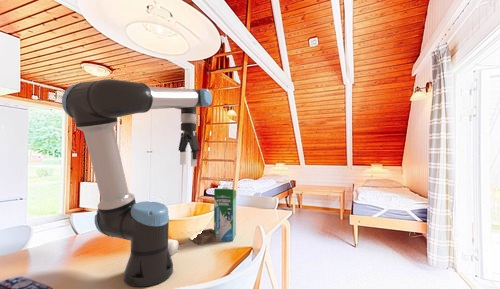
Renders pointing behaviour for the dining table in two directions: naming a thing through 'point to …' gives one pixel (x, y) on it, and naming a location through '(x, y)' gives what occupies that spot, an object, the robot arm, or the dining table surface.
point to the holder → (205, 237)
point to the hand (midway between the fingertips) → (188, 165)
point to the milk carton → (224, 214)
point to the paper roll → (172, 246)
